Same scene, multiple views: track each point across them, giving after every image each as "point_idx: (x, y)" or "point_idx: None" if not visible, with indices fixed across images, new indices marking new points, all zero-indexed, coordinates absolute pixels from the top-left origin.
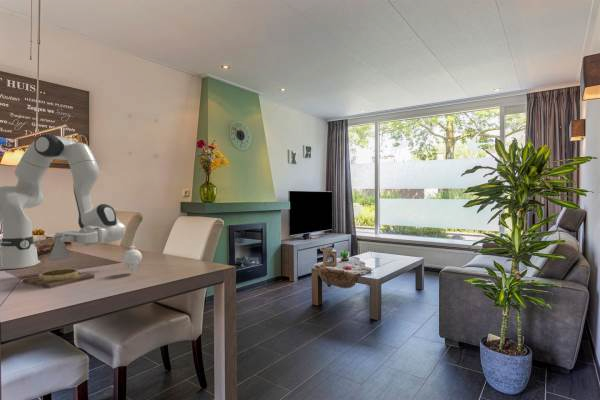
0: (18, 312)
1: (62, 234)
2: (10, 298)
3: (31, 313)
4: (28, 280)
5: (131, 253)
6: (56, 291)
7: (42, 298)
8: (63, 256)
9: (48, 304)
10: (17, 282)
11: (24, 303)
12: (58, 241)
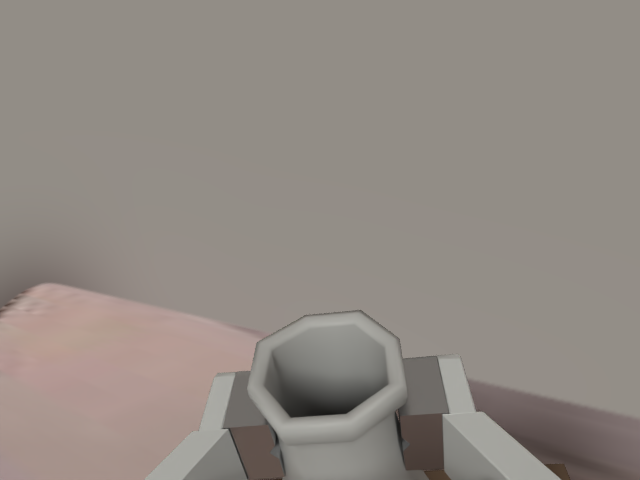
0: (57, 308)
1: (326, 415)
2: (234, 337)
3: (6, 321)
4: None
5: None
6: (112, 477)
7: (92, 393)
8: None
9: (6, 373)
10: (592, 461)
11: (115, 341)
12: (304, 414)
